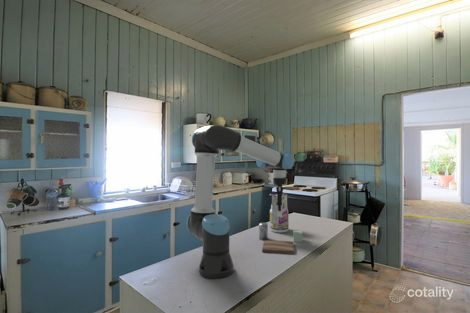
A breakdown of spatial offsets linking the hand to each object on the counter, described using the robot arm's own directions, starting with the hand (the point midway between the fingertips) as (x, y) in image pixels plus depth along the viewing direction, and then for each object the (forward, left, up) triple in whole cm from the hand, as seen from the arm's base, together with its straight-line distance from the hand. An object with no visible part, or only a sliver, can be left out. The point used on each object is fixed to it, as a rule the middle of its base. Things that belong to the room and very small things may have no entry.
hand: (279, 214), depth 151 cm
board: (-14, +1, -15) cm, 20 cm away
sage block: (0, -10, -15) cm, 18 cm away
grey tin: (0, +10, -15) cm, 18 cm away
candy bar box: (0, 0, -5) cm, 5 cm away
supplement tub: (+18, +1, -15) cm, 24 cm away
